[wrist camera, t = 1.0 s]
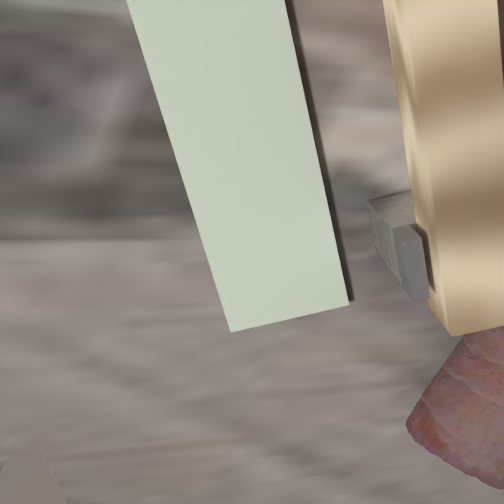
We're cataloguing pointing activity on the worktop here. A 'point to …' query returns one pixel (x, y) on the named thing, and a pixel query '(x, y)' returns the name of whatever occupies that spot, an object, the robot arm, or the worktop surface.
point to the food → (467, 409)
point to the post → (400, 242)
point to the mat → (244, 153)
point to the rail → (454, 150)
